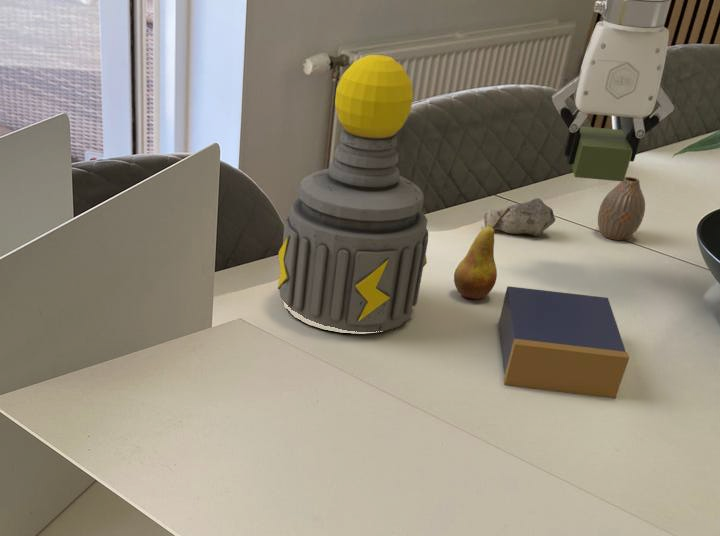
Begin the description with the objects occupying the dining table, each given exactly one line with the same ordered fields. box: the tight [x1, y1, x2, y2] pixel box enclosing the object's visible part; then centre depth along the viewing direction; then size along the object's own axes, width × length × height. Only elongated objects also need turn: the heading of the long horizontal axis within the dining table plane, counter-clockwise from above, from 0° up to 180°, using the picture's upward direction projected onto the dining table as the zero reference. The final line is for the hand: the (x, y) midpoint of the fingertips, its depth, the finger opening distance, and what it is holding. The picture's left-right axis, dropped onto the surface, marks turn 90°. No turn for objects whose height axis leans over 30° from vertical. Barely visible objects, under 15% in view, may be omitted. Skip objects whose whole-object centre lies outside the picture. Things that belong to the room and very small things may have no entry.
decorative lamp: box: [277, 54, 429, 332], centre depth 124 cm, size 19×19×30 cm
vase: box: [597, 176, 646, 241], centre depth 158 cm, size 7×7×9 cm
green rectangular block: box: [570, 125, 632, 182], centre depth 136 cm, size 7×10×4 cm, turn 171°
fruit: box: [453, 208, 510, 300], centre depth 135 cm, size 6×6×12 cm
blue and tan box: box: [498, 285, 630, 399], centre depth 124 cm, size 13×18×5 cm
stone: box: [483, 197, 556, 237], centre depth 158 cm, size 10×5×8 cm
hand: (596, 163), depth 137 cm, fingers closed on green rectangular block, 6 cm apart
